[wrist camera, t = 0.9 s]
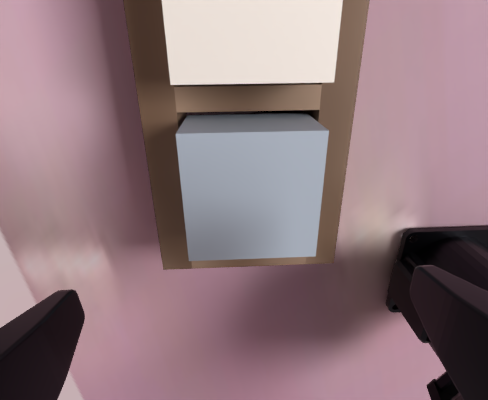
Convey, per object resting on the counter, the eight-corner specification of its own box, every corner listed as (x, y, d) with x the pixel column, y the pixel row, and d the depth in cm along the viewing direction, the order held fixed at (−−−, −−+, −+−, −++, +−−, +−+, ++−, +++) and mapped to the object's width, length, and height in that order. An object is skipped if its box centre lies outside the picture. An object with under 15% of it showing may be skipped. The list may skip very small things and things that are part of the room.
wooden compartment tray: (394, -471, 9) (464, -691, 6) (318, 233, 19) (333, 263, 17) (80, -489, 9) (14, -727, 6) (172, 238, 19) (163, 269, 16)
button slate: (306, 113, 14) (329, 130, 11) (299, 217, 17) (315, 256, 13) (187, 115, 14) (175, 133, 11) (196, 220, 16) (188, 261, 13)
